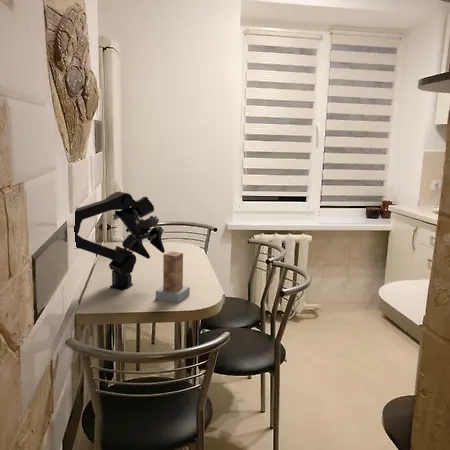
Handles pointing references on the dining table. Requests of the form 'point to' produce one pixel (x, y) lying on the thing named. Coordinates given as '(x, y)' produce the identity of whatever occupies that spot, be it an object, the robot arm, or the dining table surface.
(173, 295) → the slate plinth
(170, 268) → the walnut pillar
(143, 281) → the dining table surface
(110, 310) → the dining table surface
